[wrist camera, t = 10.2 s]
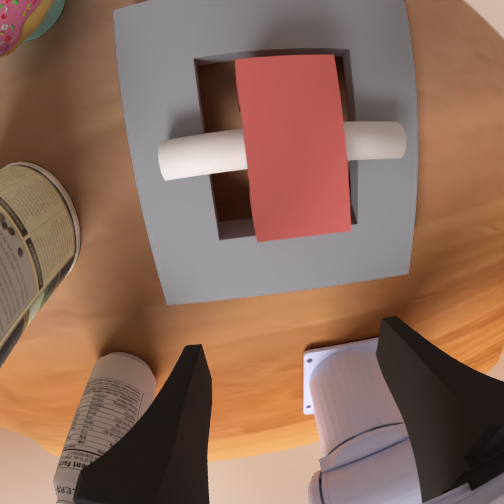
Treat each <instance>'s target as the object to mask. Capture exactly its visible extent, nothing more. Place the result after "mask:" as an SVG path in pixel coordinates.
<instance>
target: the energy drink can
mask: <svg viewBox="0 0 504 504" xmlns="http://www.w3.org/2000/svg"><path fill="white" fill-rule="evenodd" d="M156 387H157V383H156V379H155V377H154V375H153V374H152V371H151V369H150V367H149V366H148V365H147V364H146V363H145V362H144V361H143V360H141V359H140V358H138V357H136V356H134V355H132V354H129V353H125V352H112V353H109V354H108V355H106V356H103V357H101V358H99V359H98V360H97V361H96V363H95V365H94V368H93V370H92V372H91V375H90V377H89V380H88V382H87V385H86V387H85V390H84V392H83V395H82V398H81V400H80V403H79V405H78V408H77V411H76V413H75V416H74V419H73V422H72V424H71V427H70V430H69V433H68V436H67V439H66V442H65V445H64V448H63V451H62V454H61V457H60V460H59V463H58V467H57V470H56V474H55V476H54V480H53V484H54V488H55V490H56V494H57V498H58V501H57V502H56V504H75V503H74V501H73V496H74V491H75V487H76V483H77V479H78V476H79V473H80V471H81V469H83V468H85V467H86V466H88V465H89V464H90V463H92V462H93V461H95V460H96V459H98V458H99V457H100V456H102V455H103V454H104V453H105V452H107V451H108V450H109V449H110V448H111V447H112V446H113V445H115V444H116V443H117V442H118V441H119V440H120V439H121V438H122V437H123V436H124V435H125V434H126V433H127V432H128V431H129V430H130V429H131V428H132V427H133V426H134V425H135V424H136V422H137V421H138V420H139V419H140V418H141V416H142V415H143V414H144V413H145V412H146V410H147V409H148V408H149V406H150V405H151V404H152V402H153V401H154V396H155V391H156Z"/></svg>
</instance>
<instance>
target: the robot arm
mask: <svg viewBox="0 0 504 504" xmlns="http://www.w3.org/2000/svg"><path fill="white" fill-rule="evenodd" d="M308 359H309V360H308ZM211 407H212V378H211V375H210V372H209V368H208V365H207V361H206V358H205V355H204V351H203V348H202V344H199V345H186V346H185V348H184V349H183V351H182V353H181V355H180V357H179V359H178V361H177V363H176V365H175V367H174V369H173V370H172V372H171V374H170V376H169V377H168V379H167V381H166V382H165V384H164V386H163V387H162V389H161V390H160V392H159V393H158V395H157V396H156V398H155V399H154V401H153V402H152V404H151V405H150V406H149V408H148V409H147V410H146V412H145V413H144V414H143V415H142V416H141V418H140V419H139V420H138V421H137V422H136V424H135V425H134V426H133V427H132V428H131V429H130V430H129V431H128V432H127V433H126V434H125V435H124V436H123V437H122V438H121V439H120V440H119V441H118V442H117V443H116V444H115V445H113V446H112V447H111V448H110V449H109V450H108V451H107V452H105V453H104V454H103V455H102V456H100V457H99V458H98V459H96V460H95V461H93V462H92V463H90V464H89V465H88V466H86V467H85V468H83V469H81V471H80V473H79V476H78V479H77V483H76V487H75V491H74V496H73V501H74V503H75V504H209V490H208V466H207V450H208V438H209V428H210V418H211ZM303 412H304V414H313V413H314V417H315V421H316V426H317V430H318V435H319V439H320V443H321V447H322V452H323V456H324V457H323V458H321V459H319V461H320V466H321V470H320V471H317V472H315V473H314V475H313V476H312V480H311V481H310V483H309V487H308V498H309V504H504V382H503V381H500V380H497V379H495V378H492V377H490V376H487V375H485V374H483V373H480V372H478V371H476V370H474V369H472V368H470V367H468V366H466V365H465V364H463V363H461V362H459V361H457V360H456V359H454V358H452V357H451V356H449V355H448V354H446V353H445V352H443V351H442V350H440V349H439V348H437V347H436V346H434V345H433V344H432V343H430V342H429V341H428V340H426V339H425V338H424V337H422V336H421V335H420V334H418V333H417V332H416V331H414V330H413V329H412V328H411V327H409V326H408V325H407V324H405V323H404V322H403V321H402V320H400V319H399V318H397V317H396V316H393V317H388V318H383V319H382V323H381V328H380V334H379V337H377V338H372V339H367V340H362V341H357V342H352V343H346V344H341V345H335V346H329V347H324V348H317V349H311V350H307V351H305V352H304V354H303Z"/></svg>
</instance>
